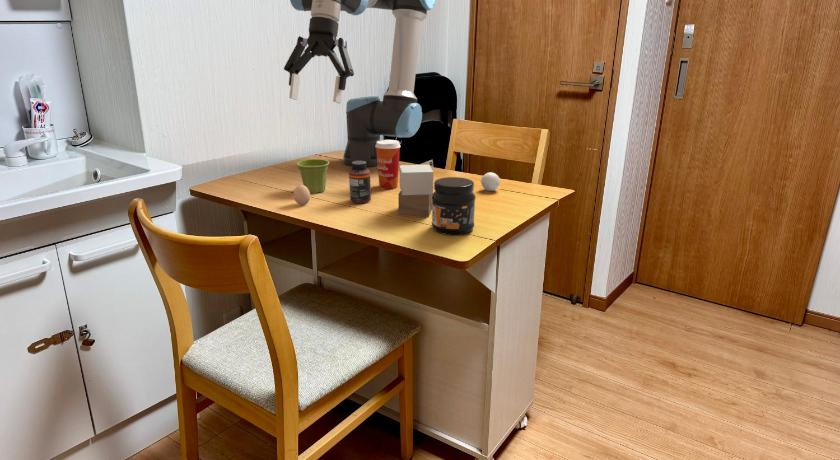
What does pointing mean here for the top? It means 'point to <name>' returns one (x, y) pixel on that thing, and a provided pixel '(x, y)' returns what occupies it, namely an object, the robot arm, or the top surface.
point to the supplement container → (453, 205)
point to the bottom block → (415, 205)
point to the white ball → (490, 181)
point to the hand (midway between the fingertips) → (314, 100)
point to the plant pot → (314, 174)
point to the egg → (302, 195)
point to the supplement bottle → (359, 183)
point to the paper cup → (388, 163)
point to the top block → (416, 180)
